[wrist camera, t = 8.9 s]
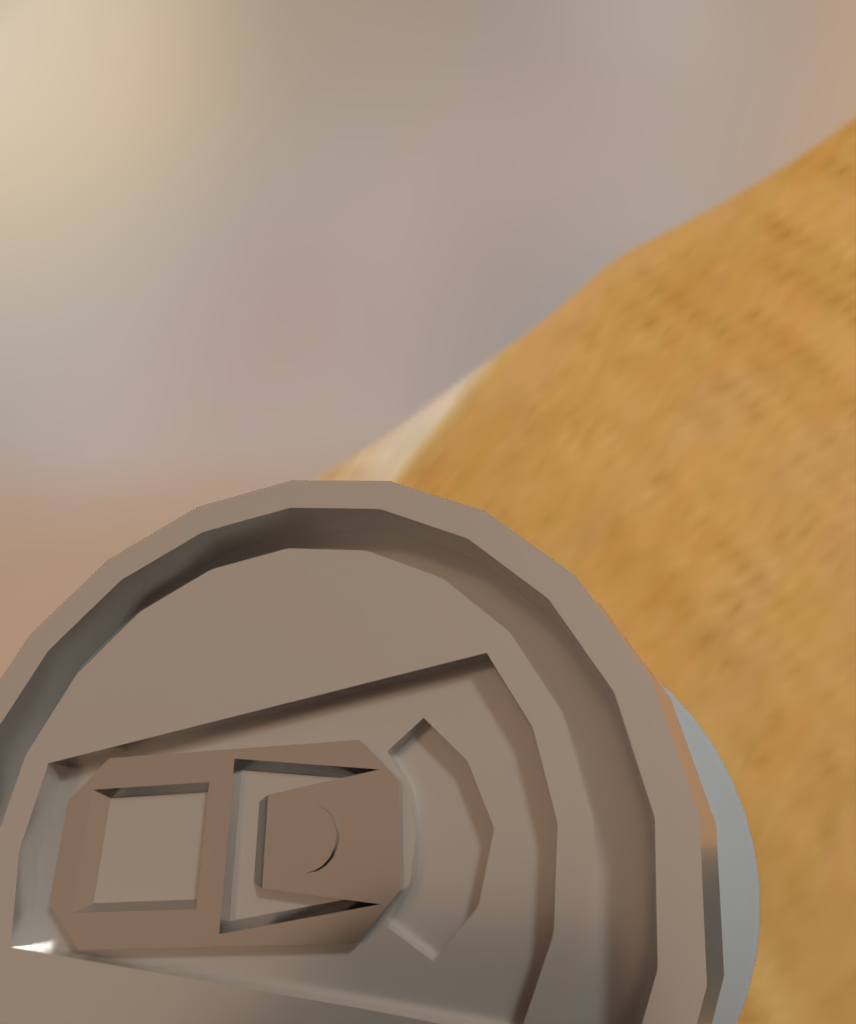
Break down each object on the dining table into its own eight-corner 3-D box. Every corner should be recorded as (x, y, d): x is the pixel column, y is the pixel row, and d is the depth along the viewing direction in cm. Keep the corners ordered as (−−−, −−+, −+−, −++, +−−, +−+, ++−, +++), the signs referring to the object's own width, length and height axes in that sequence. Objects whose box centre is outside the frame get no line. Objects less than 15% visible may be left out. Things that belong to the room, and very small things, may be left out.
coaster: (859, 1063, 13) (870, 1071, 12) (337, 1223, 13) (326, 1237, 13) (629, 574, 17) (630, 565, 17) (255, 705, 18) (245, 700, 17)
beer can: (376, 1019, 14) (-292, 1478, 3) (376, 738, 16) (-11, 500, 6) (659, 1019, 13) (928, 1634, 2) (613, 720, 15) (652, 402, 5)
